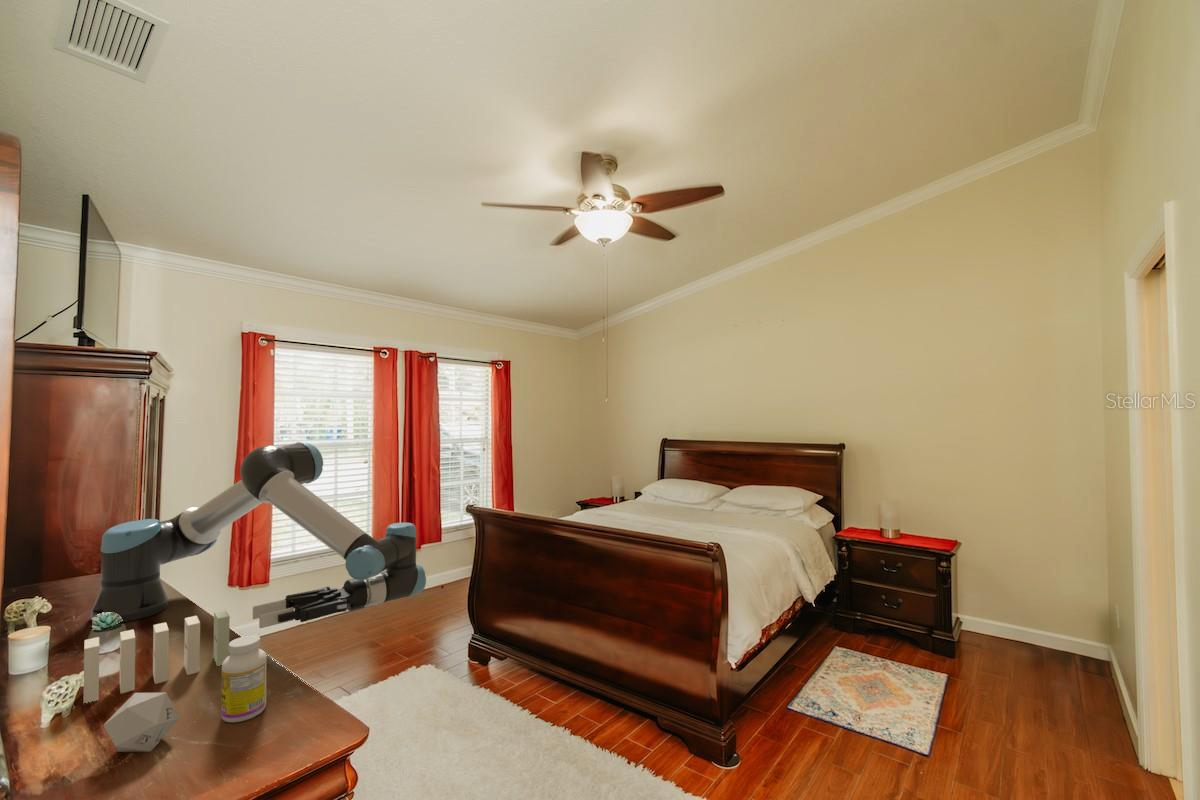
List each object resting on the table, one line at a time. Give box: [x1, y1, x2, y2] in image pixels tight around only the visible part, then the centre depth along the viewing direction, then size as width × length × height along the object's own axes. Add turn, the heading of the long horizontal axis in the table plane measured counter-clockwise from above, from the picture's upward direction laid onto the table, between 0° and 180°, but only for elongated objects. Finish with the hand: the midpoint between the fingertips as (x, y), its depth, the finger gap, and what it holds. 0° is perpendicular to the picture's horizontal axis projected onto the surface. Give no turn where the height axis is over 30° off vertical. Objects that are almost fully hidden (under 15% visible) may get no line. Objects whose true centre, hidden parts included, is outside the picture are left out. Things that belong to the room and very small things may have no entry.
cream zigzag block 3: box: [152, 622, 170, 685], centre depth 106 cm, size 2×5×10 cm, turn 44°
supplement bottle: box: [220, 634, 267, 724], centre depth 93 cm, size 7×7×13 cm
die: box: [102, 692, 181, 753], centre depth 84 cm, size 8×9×10 cm
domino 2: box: [119, 628, 136, 694], centre depth 102 cm, size 2×5×10 cm, turn 44°
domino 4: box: [213, 609, 231, 667], centre depth 112 cm, size 2×5×10 cm, turn 44°
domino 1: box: [82, 636, 100, 705], centre depth 99 cm, size 2×5×10 cm, turn 44°
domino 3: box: [183, 615, 201, 676], centre depth 109 cm, size 2×5×10 cm, turn 44°
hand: (256, 617), depth 117 cm, fingers open, 6 cm apart
